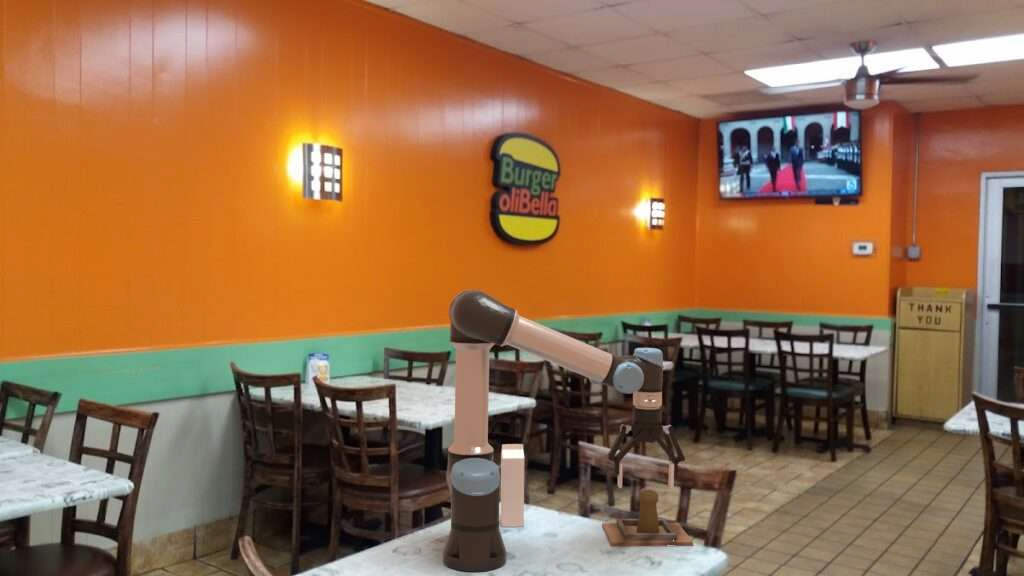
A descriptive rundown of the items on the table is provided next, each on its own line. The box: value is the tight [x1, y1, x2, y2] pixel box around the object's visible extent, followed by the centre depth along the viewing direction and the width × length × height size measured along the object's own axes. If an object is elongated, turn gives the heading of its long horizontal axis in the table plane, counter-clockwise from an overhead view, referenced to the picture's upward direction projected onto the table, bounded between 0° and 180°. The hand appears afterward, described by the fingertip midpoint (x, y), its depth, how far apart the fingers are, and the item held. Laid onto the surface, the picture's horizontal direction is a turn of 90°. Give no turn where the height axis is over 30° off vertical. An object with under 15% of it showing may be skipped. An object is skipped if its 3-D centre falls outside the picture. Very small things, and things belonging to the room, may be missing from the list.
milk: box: [500, 443, 525, 528], centre depth 226 cm, size 6×6×22 cm
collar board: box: [601, 518, 694, 547], centre depth 217 cm, size 21×16×2 cm
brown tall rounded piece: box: [637, 489, 659, 533], centre depth 216 cm, size 6×6×11 cm
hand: (645, 487), depth 216 cm, fingers open, 13 cm apart
